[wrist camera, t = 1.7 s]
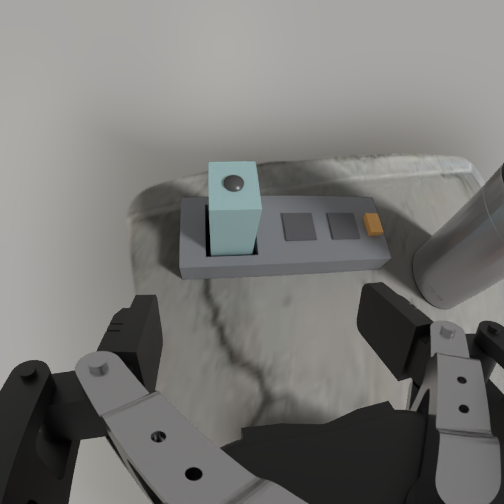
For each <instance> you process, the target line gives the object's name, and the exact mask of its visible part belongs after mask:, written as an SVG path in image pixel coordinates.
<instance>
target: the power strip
mask: <svg viewBox="0 0 504 504" xmlns="http://www.w3.org/2000/svg"><path fill="white" fill-rule="evenodd" d="M260 197H261V205H262V212H261V216H260V221H259V225H258V230H257V234H256V239H255V243H254V248H253V251H254V255H246V256H219V257H207V256H206V220H209V197H187V198H181V217H180V252H179V268H180V272H181V275H182V278H183V279H211V278H235V277H257V276H277V275H295V274H313V273H329V272H344V271H359V270H373V269H380V268H381V267H382V266H383V265H384V264H385V263H387V262H388V261H389V260H390V259H391V255H390V251H389V248H388V245H387V241H386V238H385V235H384V231H383V228H382V225H381V222H380V219H379V216H378V213H377V210H376V207H375V204H374V201H373V198H371V197H344V196H260Z"/></svg>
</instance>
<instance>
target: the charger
mask: <svg viewBox="0 0 504 504" xmlns="http://www.w3.org/2000/svg"><path fill="white" fill-rule="evenodd" d="M261 212H262V205H261V197H260V190H259V182H258V175H257V167H256V161H233V162H232V161H226V162H209V223H210V245H211V257H219V256H246V255H252V252H253V248H254V243H255V239H256V234H257V230H258V225H259V221H260V216H261Z"/></svg>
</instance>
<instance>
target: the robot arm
mask: <svg viewBox="0 0 504 504" xmlns="http://www.w3.org/2000/svg"><path fill="white" fill-rule="evenodd" d="M413 275H414V279H415V282H416V284H417V287H418V289H419V290H420V292H421V294H422V295H423V296H424V297H425V299H426V300H427V301H428V302H430V303H431V304H432V305H434V306H436V307H438V308H441V309H449V308H452V307H454V306H456V305H458V304H460V303H462V302H464V301H466V300H467V299H469V298H471V297H473V296H475V295H477V294H478V293H480V292H482V291H484V290H485V289H487V288H489V287H491V286H492V285H494V284H496V283H497V282H499V281H501V280H502V279H504V163H503V165H502V166H501V167H500V168H499V169H498V170H497V171H496V172H495V173H494V175H493V176H492V177H491V178H490V179H489V180H488V181H487V182H486V183H485V185H484V186H483V187H482V188H481V189H480V190H479V191H478V192H477V193H476V194H475V195H474V196H473V197H472V198H471V199H470V200H469V201H468V202H467V203H466V204H465V205H464V206H463V207H462V208H461V209H460V210H459V211H458V212H457V213H456V214H455V215H454V216H453V217H452V218H451V219H450V220H449V221H448V222H447V223H446V224H445V225H444V226H443V227H442V228H441V229H439V230H438V231H437V232H436V233H435V234H434V235H433V236H432V237H431V238H430V239H429V240H427V241H426V242H425V243H424V244H423V245H422V246H421V247H420V248H419V249H418V250H417V251H416V253H415V255H414V259H413ZM357 327H358V330H359V332H360V334H361V335H362V336H363V337H364V339H365V340H366V341H367V342H368V344H369V345H370V346H371V347H372V349H373V350H374V351H375V352H376V354H377V355H378V356H379V357H380V359H381V360H382V361H383V362H384V364H385V365H386V366H387V367H388V369H389V370H390V371H391V373H392V374H393V375H394V376H395V378H396V379H397V380H398V381H401V380H404V379H407V378H412V380H411V383H410V385H409V391H408V398H407V405H406V410H394V408H393V407H392V405H391V404H390V403H389V401H386V402H383V403H379V404H375V405H372V406H368V407H364V408H360V409H357V410H355V411H353V412H350V413H348V414H346V415H344V416H342V417H340V418H338V419H336V420H334V421H331V422H329V423H326V424H320V425H317V424H283V423H281V424H274V425H266V426H256V427H246V428H241V432H242V439H241V440H237V441H234V442H232V443H229V444H227V445H225V446H223V447H221V448H219V447H218V446H217V445H215V444H214V443H213V442H212V441H211V440H210V439H209V438H207V437H206V436H205V435H204V434H203V433H202V432H201V431H200V430H198V429H197V428H196V427H195V426H194V425H193V424H192V423H191V422H190V421H189V420H188V419H187V418H186V417H185V416H184V415H183V414H181V413H180V412H179V411H178V410H177V409H176V408H175V407H174V406H173V405H172V404H171V403H170V402H169V401H168V400H167V399H166V398H165V397H164V396H163V395H162V394H161V393H160V392H159V391H155V387H156V381H157V375H158V369H159V363H160V357H161V352H162V345H163V338H162V329H161V322H160V315H159V308H158V301H157V297H156V295H136V296H135V298H134V300H133V302H132V304H131V307H130V308H122V309H121V310H120V311H119V312H117V313H116V314H115V315H114V316H113V318H112V320H111V322H110V325H109V326H108V328H107V332H106V333H105V334H104V337H103V339H102V341H101V343H100V345H99V347H98V349H97V351H96V352H93V353H90V354H87V355H85V356H84V357H82V358H81V359H80V360H79V361H78V362H77V364H76V366H75V371H70V372H63V373H55V374H51V371H50V369H49V367H48V365H47V364H46V363H44V362H42V361H38V360H30V361H26V362H23V363H21V364H19V365H18V366H16V367H15V368H14V369H13V370H12V372H11V373H10V375H9V377H8V379H7V380H6V382H5V384H4V386H3V387H2V389H1V391H0V504H68V502H69V497H70V491H71V485H72V479H73V473H74V468H75V463H76V458H77V454H78V449H79V445H80V440H82V439H90V438H97V437H103V436H105V438H106V440H107V441H108V443H109V444H110V446H111V447H112V449H113V450H114V452H115V453H116V455H117V456H118V458H119V459H120V461H121V462H122V464H123V465H124V466H125V468H126V469H127V471H128V472H129V473H130V474H131V476H132V477H133V479H134V480H135V481H136V483H137V485H138V486H139V487H140V489H141V490H142V492H143V493H144V494H145V495H146V497H147V498H148V499H149V500H150V502H151V503H152V504H504V394H503V393H502V392H501V391H500V390H499V389H498V388H497V387H496V386H495V385H494V384H493V382H492V381H491V380H490V379H489V377H490V375H491V373H492V371H493V369H494V367H495V365H496V363H498V364H499V365H500V366H501V367H502V368H503V369H504V327H503V326H502V325H500V324H498V323H496V322H492V321H482V322H480V323H479V326H478V329H477V332H476V334H465V332H464V330H463V329H462V328H461V327H460V326H458V325H456V324H454V323H452V322H448V321H436V322H433V321H432V320H431V319H430V318H428V317H427V316H426V315H425V314H424V313H422V312H421V311H420V310H419V309H417V308H416V307H415V306H414V305H413V304H411V303H410V302H409V301H408V300H407V299H405V298H404V297H402V296H400V295H398V294H397V293H395V292H394V291H393V290H392V289H390V288H389V287H388V286H387V285H385V284H384V283H383V282H378V283H367V284H365V285H364V286H363V288H362V292H361V298H360V304H359V309H358V315H357Z"/></svg>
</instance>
